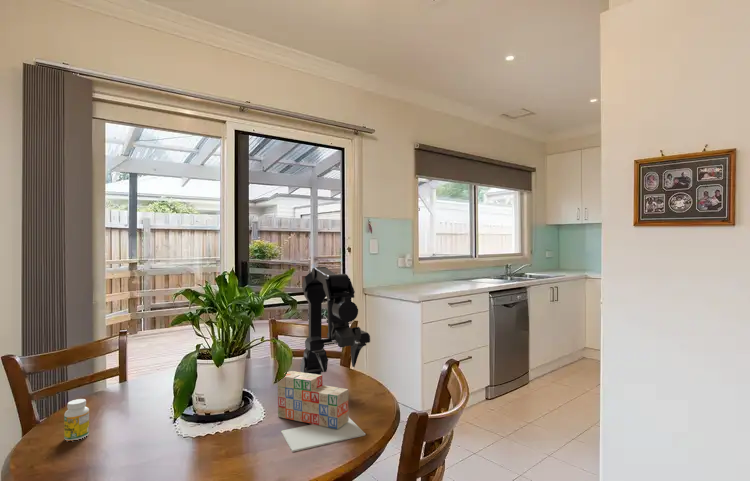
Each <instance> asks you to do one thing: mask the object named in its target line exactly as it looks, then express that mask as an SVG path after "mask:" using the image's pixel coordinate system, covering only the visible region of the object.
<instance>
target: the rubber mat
mask: <svg viewBox="0 0 750 481" xmlns="http://www.w3.org/2000/svg"><path fill="white" fill-rule="evenodd" d="M348 418H349V420H348V422H347V423H345V424H344V425H342V426H341V427H340V428H338V429H334V428H329V427H325V426H320V425H316V424H309V425H303V426H298V427H293V428H288V429H284V430H281V431H280V433H281V434H282V436H283V438H284V440H285V442H286V443H287V445H288V447H289V450H290V451H291V452H292V453H294V452H298V451H299V452H300V451H302V450H303V451H304V450H308V449H310V448H311V449H312V448H316V447H320V446H324V445H325V446H326V445H329V444H333V443H334V444H335V443H339V442H342V441H346V440H351V439H355V438H360V437H364V436H367V435H366V433H365V432H364V431H363V430H362V429H361V428H360V426H358V425H357V424H356V423H355V422H354V421H353V420H352V419H351V418H350V417H349V416H348Z"/></svg>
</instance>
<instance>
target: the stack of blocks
mask: <svg viewBox="0 0 750 481" xmlns="http://www.w3.org/2000/svg"><path fill="white" fill-rule="evenodd" d="M323 384H324V383H323V374H321V375H318V374H311V373H302V372H301V371H294V370H290V371H287V374H286V376H285V377H284V378H283V379H281V380H280V381H279V382H278V381H277V415H278V417H279V418H283V419H287V420H291V421H296V422H301V423H307V424H310V425H312V424H316V425H320V426H325V427H329V428H334V429H338V428H340V427H341V426H342V425H344V424H345V423H347V422H348V420H349V418H350V417H349V389H348V388H343V387H337V386H330V385H323ZM348 417H349V418H348Z"/></svg>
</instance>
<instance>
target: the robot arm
mask: <svg viewBox="0 0 750 481" xmlns="http://www.w3.org/2000/svg"><path fill="white" fill-rule="evenodd" d="M302 292H303V296H304V297H305V300H306V301H307V303H308V337H306V338H305V341H304V345H305V346H304V347H305V349H304V351H303V357H302V359H301V362H300V365H299V366H300V367H299V368H300V372H302V373H311V374H318V375H322V373H327V371H328V364H329V358H328V356H327V351H326V350H325V346H329V345H330V346H331V345H338V347H339V348H346V347H350V358H351V359H350V360H351V362H350V363H351V366H352V367H353V368H355V366H356V363H357V360H358V357H359V355H360V352H361V350H362V349H363V348H364V347H366V346H367V344H369V343H371V335H370V334H369V333H368V332H366V331H364V330H362V329H361V327H360V326H355V327H351V326H350V323H351V322H353V321H355V319H356V318H358V314H359V308H358V306H357V304H355V302H353V301H352V299H354V298H355V293H356V292H355V288H354V287H353V284H352V281H351V278H350V277H349V276H348V274H347V273H335V272H334V271H332V270H330V269H329V268H328V267H326V266H315V267H312V269H311V271H310V272H309V273H308V274H306V275H305V276H304V278H303V282H302ZM325 299H326V300H327V301H326V304H327V305H326V306H327V319H326V324H327V333H326V335H327V336H326V338H322V326H323V325H322V323H323V322H322V321H323V320H322V317H323V316H322V313H323V312H322V304H323V302H324V300H325Z"/></svg>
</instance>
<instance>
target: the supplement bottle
mask: <svg viewBox="0 0 750 481" xmlns="http://www.w3.org/2000/svg"><path fill="white" fill-rule="evenodd" d="M66 405H67V406H66V407H67V410H66V411H65V412H64V414H63V415H64V416H63V417H64V418H63V419H64V420H63V421H64V422H63V428H64V429H63V434H64V435H63V437H64V438H63V440H64V439H65V440H78V439H81V440H83V439H85V438H87V437H88V436H89V435H90V408H89V407H88V406H86V405H87V400H86V399H85V398H77V399H73V400H70V401H68V402H67V404H66ZM86 436H87V437H86ZM84 437H85V438H84ZM82 438H83V439H82ZM65 440H64V441H65ZM78 441H79V440H78Z"/></svg>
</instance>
